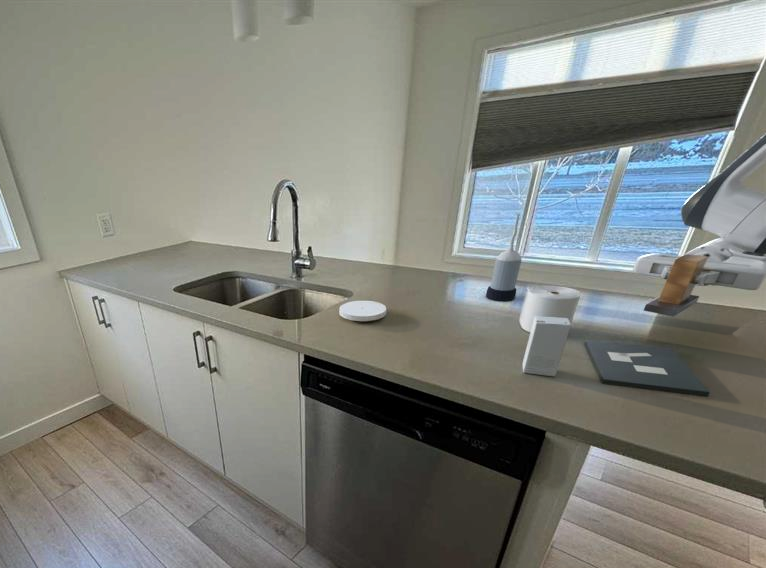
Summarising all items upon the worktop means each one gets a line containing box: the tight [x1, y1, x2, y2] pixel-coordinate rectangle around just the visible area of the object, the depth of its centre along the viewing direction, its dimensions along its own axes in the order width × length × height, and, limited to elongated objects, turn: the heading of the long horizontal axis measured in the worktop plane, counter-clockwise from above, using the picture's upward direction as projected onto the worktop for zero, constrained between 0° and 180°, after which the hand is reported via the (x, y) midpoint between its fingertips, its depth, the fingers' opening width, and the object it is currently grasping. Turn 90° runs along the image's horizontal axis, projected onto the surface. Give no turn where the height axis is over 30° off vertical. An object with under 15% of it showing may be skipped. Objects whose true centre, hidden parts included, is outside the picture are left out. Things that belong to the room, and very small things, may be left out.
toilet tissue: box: [519, 284, 582, 334], centre depth 105 cm, size 11×12×10 cm
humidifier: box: [485, 213, 526, 303], centre depth 123 cm, size 8×8×25 cm
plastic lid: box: [338, 300, 387, 322], centre depth 125 cm, size 14×14×2 cm
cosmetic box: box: [522, 316, 572, 377], centre depth 86 cm, size 6×4×12 cm
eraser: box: [643, 253, 708, 317], centre depth 85 cm, size 5×12×10 cm, turn 121°
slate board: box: [583, 339, 711, 397], centre depth 87 cm, size 16×20×1 cm
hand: (681, 277), depth 84 cm, fingers closed on eraser, 3 cm apart
